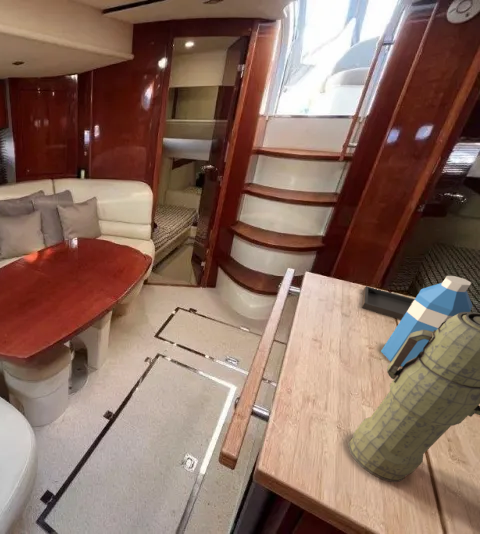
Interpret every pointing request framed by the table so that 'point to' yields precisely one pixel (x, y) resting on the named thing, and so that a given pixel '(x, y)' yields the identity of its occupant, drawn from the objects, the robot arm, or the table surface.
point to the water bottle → (429, 314)
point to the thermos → (422, 399)
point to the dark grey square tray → (385, 302)
